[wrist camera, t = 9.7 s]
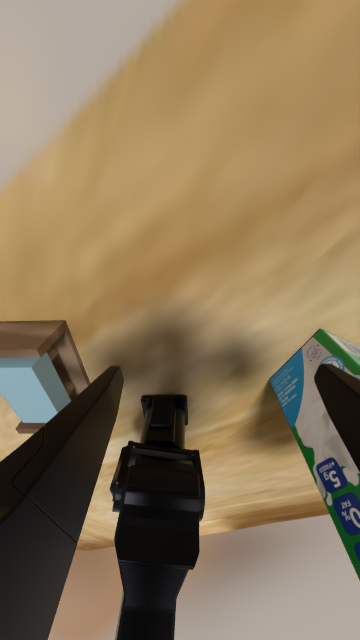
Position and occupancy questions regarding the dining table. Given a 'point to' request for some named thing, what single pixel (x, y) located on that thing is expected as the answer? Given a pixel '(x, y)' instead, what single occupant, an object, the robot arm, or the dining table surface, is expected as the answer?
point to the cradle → (34, 343)
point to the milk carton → (324, 431)
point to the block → (32, 388)
